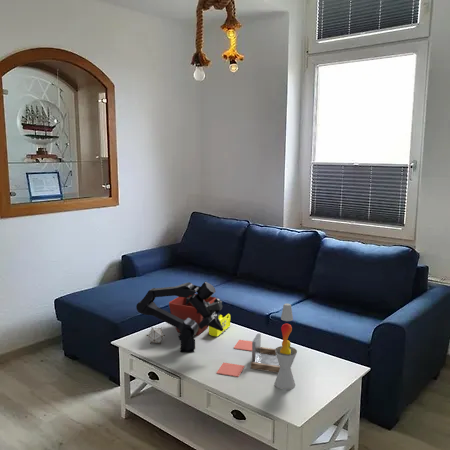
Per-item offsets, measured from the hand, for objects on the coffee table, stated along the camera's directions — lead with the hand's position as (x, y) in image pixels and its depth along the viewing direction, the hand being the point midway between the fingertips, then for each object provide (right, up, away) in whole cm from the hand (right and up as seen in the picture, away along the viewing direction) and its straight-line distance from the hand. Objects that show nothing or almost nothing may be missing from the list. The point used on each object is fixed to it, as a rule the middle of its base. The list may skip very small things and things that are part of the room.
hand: (222, 330), depth 218 cm
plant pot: (-16, -7, +31) cm, 36 cm away
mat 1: (+4, -15, -12) cm, 20 cm away
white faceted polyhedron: (-33, -10, +15) cm, 38 cm away
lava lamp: (+26, -17, -24) cm, 40 cm away
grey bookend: (+21, -13, -4) cm, 25 cm away
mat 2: (+12, -10, +12) cm, 20 cm away
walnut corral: (+22, -13, -5) cm, 27 cm away
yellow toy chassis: (-2, -8, +29) cm, 30 cm away
